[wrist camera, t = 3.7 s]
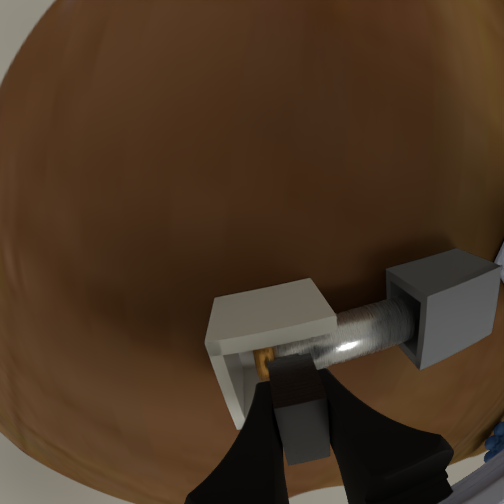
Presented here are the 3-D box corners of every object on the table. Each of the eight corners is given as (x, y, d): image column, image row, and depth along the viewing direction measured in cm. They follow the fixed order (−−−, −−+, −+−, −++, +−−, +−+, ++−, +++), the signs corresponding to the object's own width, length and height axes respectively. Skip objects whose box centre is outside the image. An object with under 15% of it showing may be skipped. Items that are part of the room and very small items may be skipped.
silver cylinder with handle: (392, 279, 15) (472, 339, 8) (392, 334, 16) (453, 405, 9) (247, 314, 16) (252, 412, 8) (261, 368, 16) (271, 468, 9)
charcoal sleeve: (456, 248, 16) (501, 266, 11) (453, 306, 17) (491, 333, 13) (385, 268, 16) (427, 296, 12) (386, 332, 17) (419, 370, 13)
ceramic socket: (310, 277, 16) (336, 315, 11) (320, 358, 18) (341, 408, 13) (214, 297, 16) (204, 342, 11) (237, 375, 18) (236, 429, 13)
